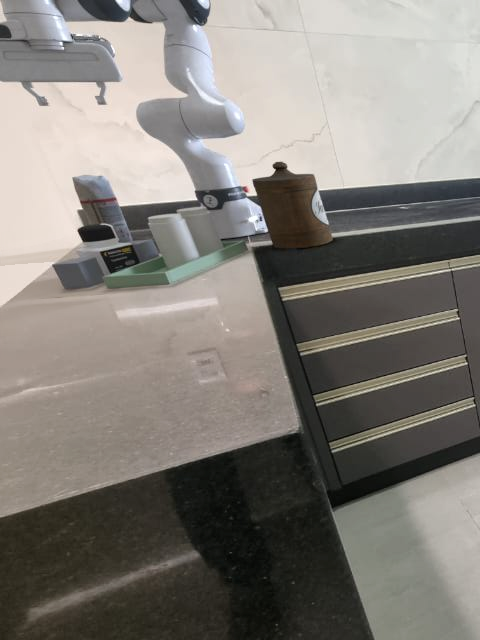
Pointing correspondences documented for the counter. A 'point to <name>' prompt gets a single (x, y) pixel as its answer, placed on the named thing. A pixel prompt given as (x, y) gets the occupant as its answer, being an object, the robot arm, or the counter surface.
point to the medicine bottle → (106, 248)
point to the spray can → (101, 204)
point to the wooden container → (292, 209)
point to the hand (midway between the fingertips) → (74, 105)
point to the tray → (160, 275)
